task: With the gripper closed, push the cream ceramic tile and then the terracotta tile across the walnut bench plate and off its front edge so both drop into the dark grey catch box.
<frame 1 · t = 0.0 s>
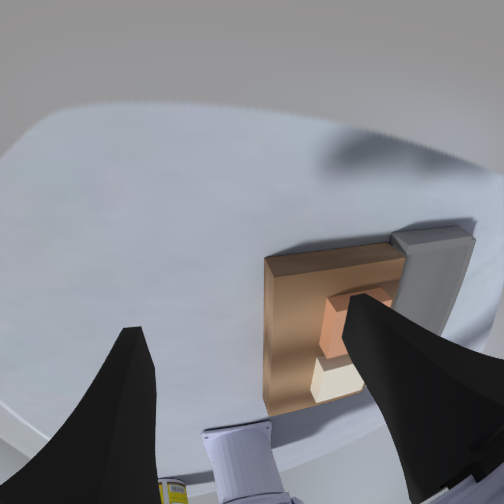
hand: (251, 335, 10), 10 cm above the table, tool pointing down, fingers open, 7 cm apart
supplement bottle: (167, 481, 37), on the table
bench plate: (320, 331, 25), on the table
tile cream: (337, 368, 25), point 2 cm above the table, touching bench plate
catch box: (406, 307, 27), on the table
tile terracotta: (350, 316, 22), point 2 cm above the table, touching bench plate
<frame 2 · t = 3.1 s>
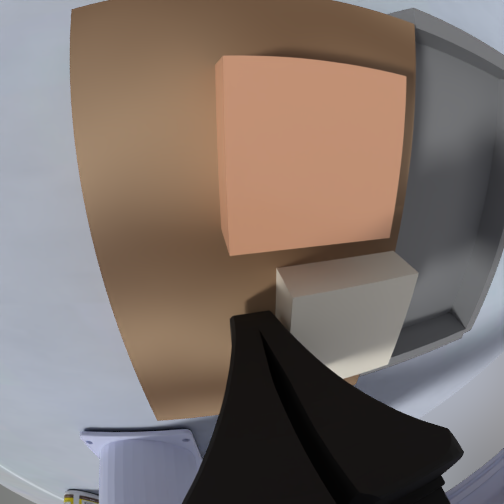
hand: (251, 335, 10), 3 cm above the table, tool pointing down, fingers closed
supplement bottle: (86, 494, 23), on the table
bench plate: (247, 229, 12), on the table
tile cream: (332, 311, 11), point 3 cm above the table, touching gripper
catch box: (435, 205, 13), on the table
tile terracotta: (300, 146, 8), point 2 cm above the table, touching bench plate
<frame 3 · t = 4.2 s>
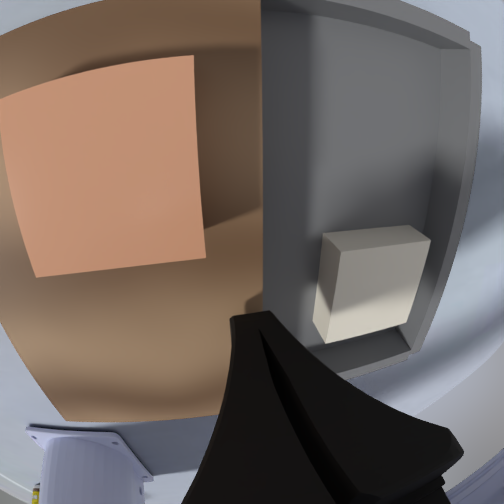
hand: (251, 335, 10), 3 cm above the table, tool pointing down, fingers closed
supplement bottle: (54, 489, 22), on the table
bench plate: (115, 244, 11), on the table
tile cream: (380, 293, 12), point 2 cm above the table, tilted 180°, touching catch box
catch box: (351, 208, 12), on the table
tile terracotta: (110, 161, 7), point 2 cm above the table, touching bench plate
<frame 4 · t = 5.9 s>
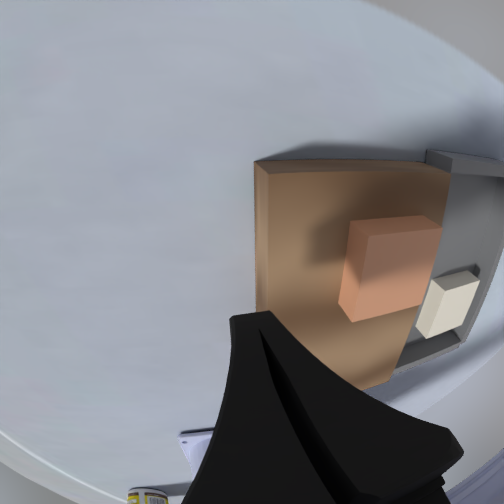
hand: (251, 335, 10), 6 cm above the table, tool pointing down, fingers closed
supplement bottle: (147, 491, 29), on the table
bench plate: (336, 291, 18), on the table
tile cream: (454, 309, 19), point 2 cm above the table, tilted 180°, touching catch box
catch box: (443, 264, 20), on the table
tile terracotta: (382, 259, 15), point 2 cm above the table, touching bench plate
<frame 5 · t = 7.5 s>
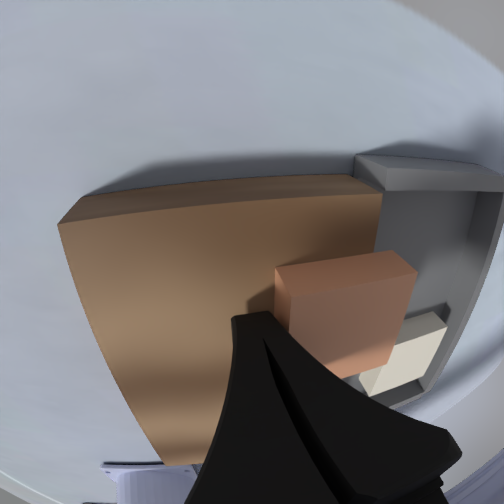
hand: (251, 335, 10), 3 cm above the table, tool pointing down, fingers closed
bench plate: (229, 347, 14), on the table
tile cream: (409, 363, 16), point 2 cm above the table, tilted 180°, touching catch box
catch box: (396, 306, 16), on the table
tile terracotta: (331, 310, 11), point 3 cm above the table, touching bench plate, gripper
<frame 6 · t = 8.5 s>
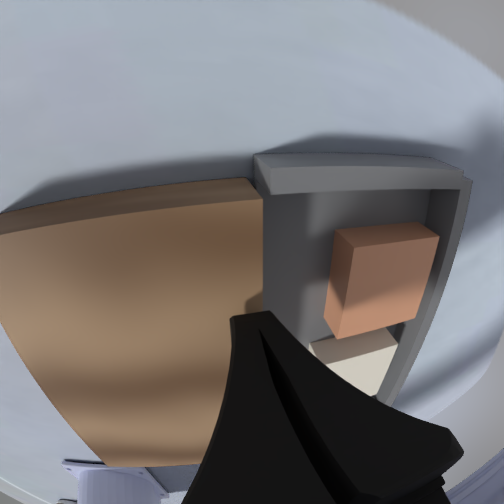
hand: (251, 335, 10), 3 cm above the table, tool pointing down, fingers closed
supplement bottle: (75, 503, 25), on the table
bench plate: (147, 356, 14), on the table
tile cream: (353, 382, 15), point 2 cm above the table, tilted 180°, touching catch box
catch box: (334, 320, 15), on the table
tile terracotta: (390, 289, 12), point 2 cm above the table, tilted 180°, touching catch box
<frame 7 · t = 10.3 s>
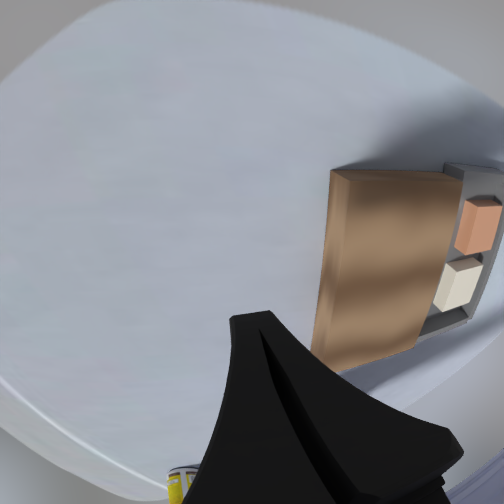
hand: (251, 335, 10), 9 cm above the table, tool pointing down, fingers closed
supplement bottle: (185, 471, 34), on the table
bench plate: (377, 270, 23), on the table
tile cream: (463, 288, 24), point 2 cm above the table, tilted 180°, touching catch box
catch box: (455, 251, 24), on the table
tile terracotta: (485, 229, 21), point 2 cm above the table, tilted 180°, touching catch box
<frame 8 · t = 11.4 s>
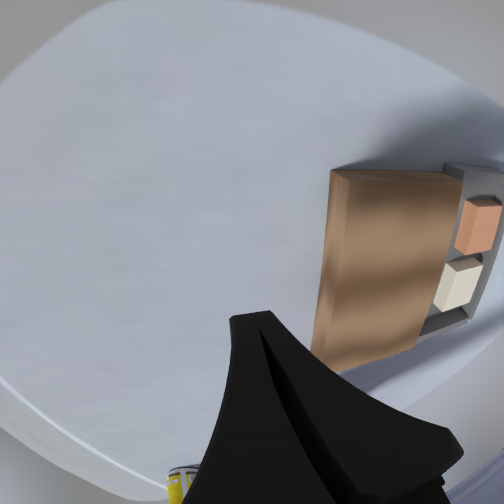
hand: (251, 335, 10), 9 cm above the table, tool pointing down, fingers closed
supplement bottle: (185, 471, 34), on the table
bench plate: (377, 270, 23), on the table
tile cream: (463, 288, 24), point 2 cm above the table, tilted 180°, touching catch box
catch box: (455, 251, 24), on the table
tile terracotta: (485, 229, 21), point 2 cm above the table, tilted 180°, touching catch box
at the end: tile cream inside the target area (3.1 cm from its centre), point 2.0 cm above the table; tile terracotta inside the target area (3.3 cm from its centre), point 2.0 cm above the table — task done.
